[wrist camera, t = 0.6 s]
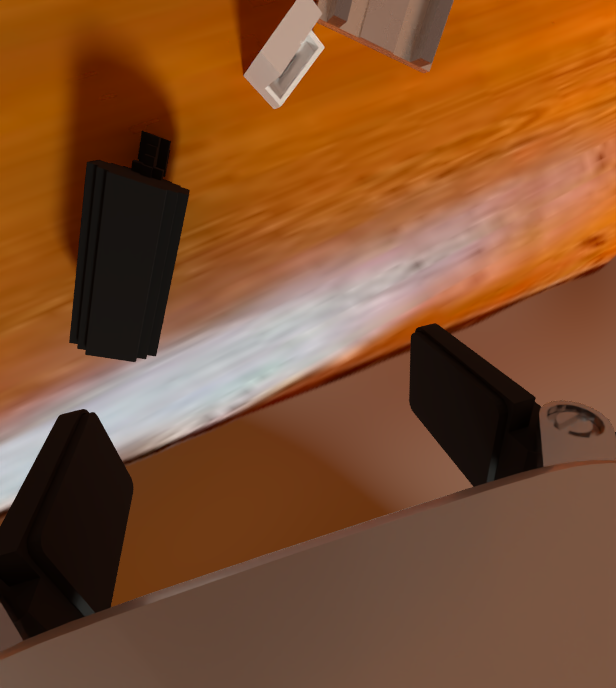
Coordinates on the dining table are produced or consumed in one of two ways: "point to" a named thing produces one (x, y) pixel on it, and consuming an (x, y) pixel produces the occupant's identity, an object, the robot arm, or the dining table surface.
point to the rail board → (390, 26)
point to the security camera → (126, 254)
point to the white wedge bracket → (286, 54)
